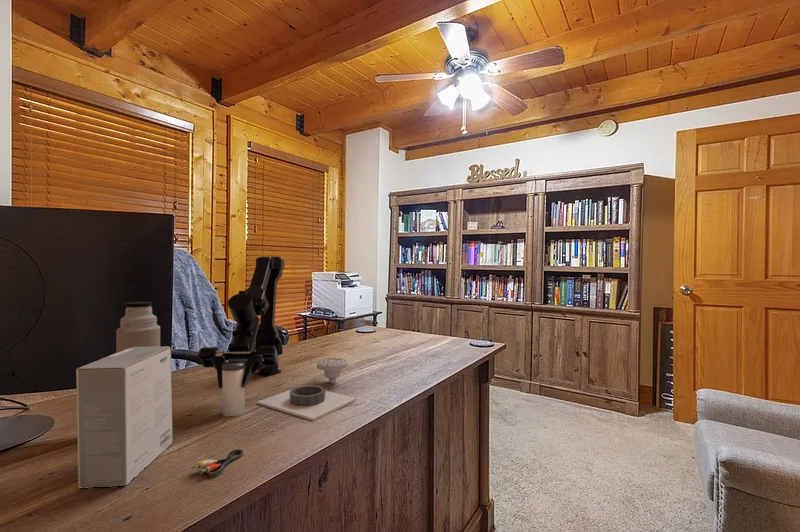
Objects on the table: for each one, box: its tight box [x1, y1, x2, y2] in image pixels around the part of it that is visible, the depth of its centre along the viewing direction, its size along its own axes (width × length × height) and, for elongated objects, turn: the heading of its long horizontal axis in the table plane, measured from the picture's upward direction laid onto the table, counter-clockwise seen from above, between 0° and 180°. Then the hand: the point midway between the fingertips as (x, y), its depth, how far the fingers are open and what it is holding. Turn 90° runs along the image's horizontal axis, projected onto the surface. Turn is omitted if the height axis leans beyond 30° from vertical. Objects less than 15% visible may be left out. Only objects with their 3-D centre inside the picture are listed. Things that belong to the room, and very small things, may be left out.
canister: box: [221, 361, 245, 418], centre depth 94 cm, size 5×5×12 cm
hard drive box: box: [75, 345, 173, 488], centre depth 70 cm, size 16×8×20 cm, turn 5°
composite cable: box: [190, 448, 244, 479], centre depth 70 cm, size 10×5×2 cm, turn 150°
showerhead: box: [316, 357, 349, 384], centre depth 118 cm, size 9×7×10 cm
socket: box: [257, 384, 357, 422], centre depth 102 cm, size 20×16×3 cm
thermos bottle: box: [115, 301, 161, 353], centre depth 85 cm, size 8×8×28 cm
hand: (231, 387), depth 93 cm, fingers closed on canister, 5 cm apart
